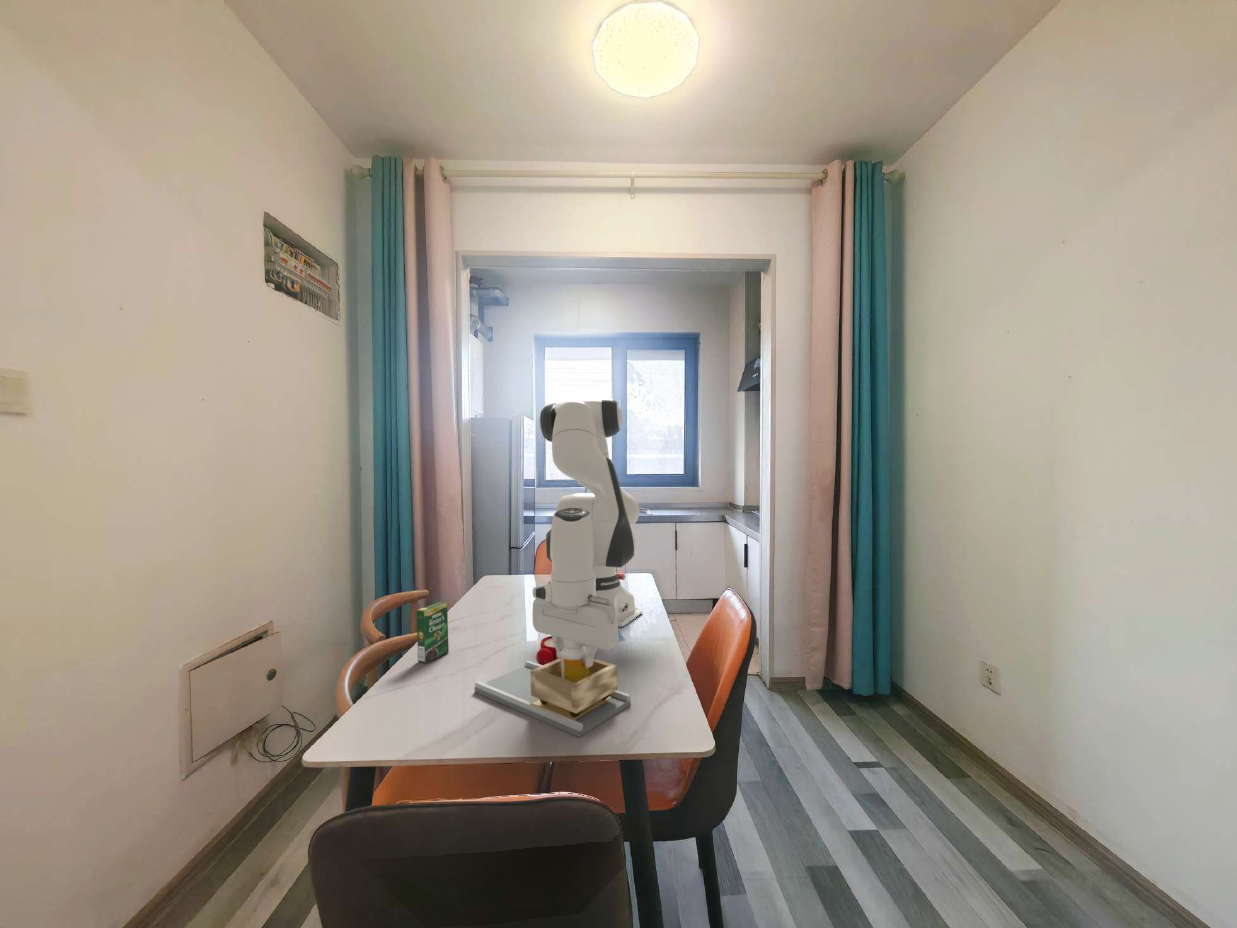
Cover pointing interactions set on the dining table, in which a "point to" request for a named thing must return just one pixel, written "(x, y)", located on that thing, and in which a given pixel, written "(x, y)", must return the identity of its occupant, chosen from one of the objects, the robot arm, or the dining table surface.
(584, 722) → the track board
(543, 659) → the alarm clock
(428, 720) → the dining table surface
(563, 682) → the open wooden crate
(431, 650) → the coffee box
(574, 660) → the supplement bottle
